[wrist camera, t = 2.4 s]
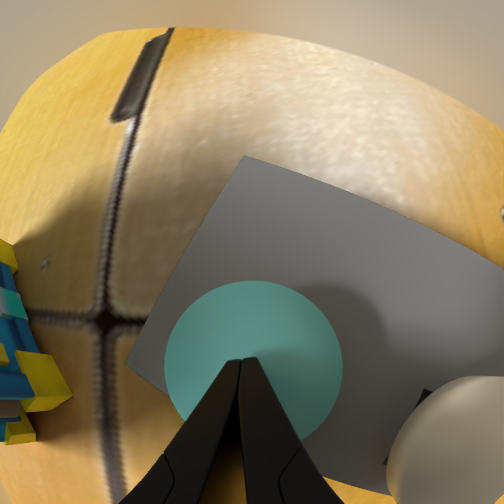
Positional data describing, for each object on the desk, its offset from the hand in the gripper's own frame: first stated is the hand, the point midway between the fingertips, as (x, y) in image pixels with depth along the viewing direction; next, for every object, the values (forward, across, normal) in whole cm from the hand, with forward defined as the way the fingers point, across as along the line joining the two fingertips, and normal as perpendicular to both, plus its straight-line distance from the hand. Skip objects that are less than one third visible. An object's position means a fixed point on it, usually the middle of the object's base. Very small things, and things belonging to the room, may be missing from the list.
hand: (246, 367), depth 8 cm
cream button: (-1, -6, +6) cm, 9 cm away
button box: (+7, -5, +8) cm, 11 cm away
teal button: (+4, 0, +4) cm, 5 cm away
